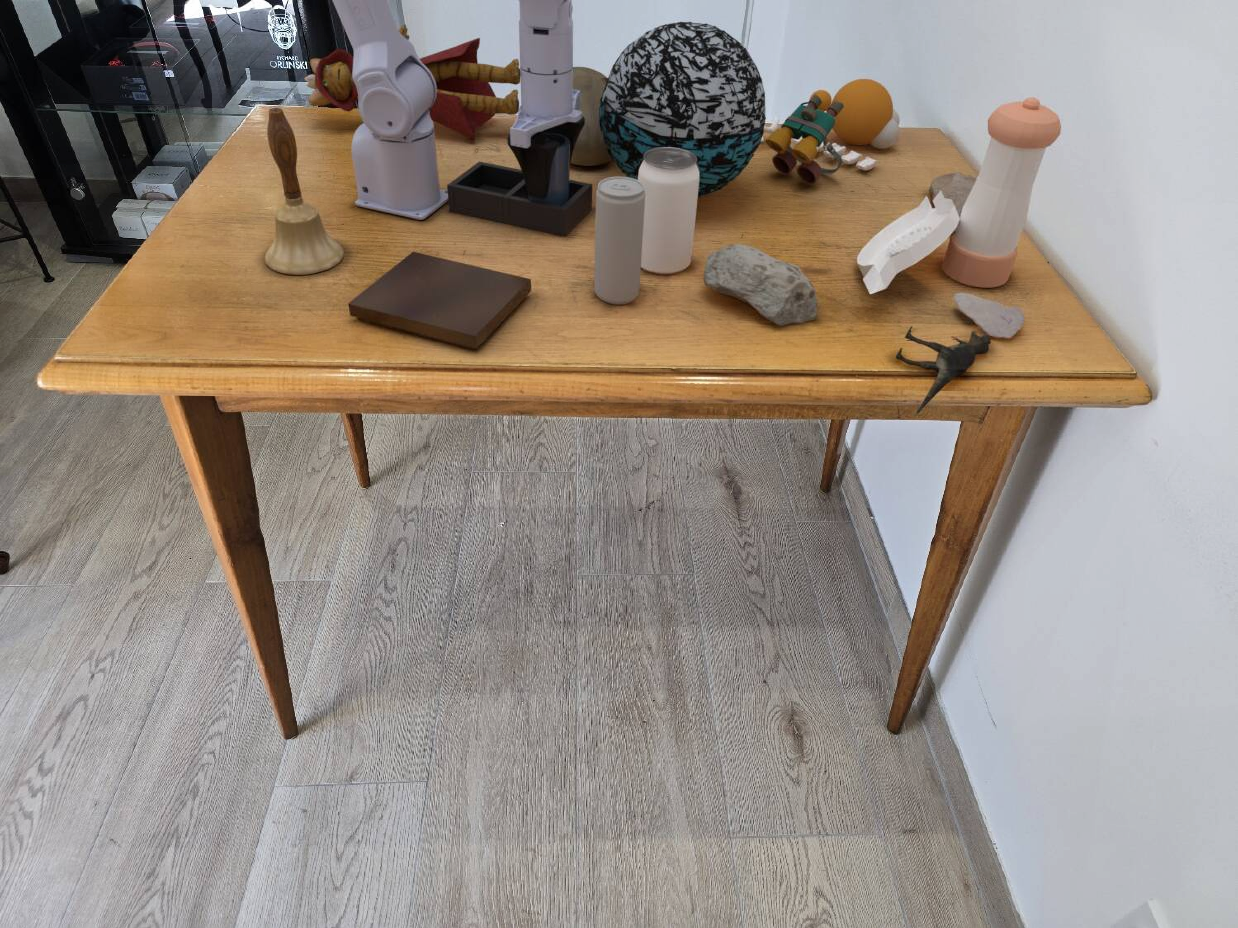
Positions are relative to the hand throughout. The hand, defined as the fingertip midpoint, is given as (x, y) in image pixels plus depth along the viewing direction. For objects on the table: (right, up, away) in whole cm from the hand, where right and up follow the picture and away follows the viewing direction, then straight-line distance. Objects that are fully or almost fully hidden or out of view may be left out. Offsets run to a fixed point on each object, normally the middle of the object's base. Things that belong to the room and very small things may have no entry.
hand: (547, 187), depth 105 cm
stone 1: (+53, -1, +8) cm, 54 cm away
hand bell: (-26, -10, -8) cm, 29 cm away
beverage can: (+8, -15, -11) cm, 20 cm away
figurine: (-5, +19, +20) cm, 28 cm away
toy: (+34, +16, +23) cm, 44 cm away
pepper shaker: (+49, -11, -4) cm, 50 cm away
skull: (+2, +13, +21) cm, 25 cm away
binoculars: (+32, +6, +14) cm, 36 cm away
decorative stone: (+23, -15, -11) cm, 30 cm away
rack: (-4, -2, +3) cm, 5 cm away
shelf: (-9, -17, -15) cm, 24 cm away
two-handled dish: (+41, -9, -7) cm, 43 cm away
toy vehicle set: (+39, +12, +18) cm, 44 cm away
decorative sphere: (+16, +2, +9) cm, 18 cm away
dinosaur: (+35, -21, -20) cm, 46 cm away
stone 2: (+47, -18, -12) cm, 51 cm away
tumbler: (0, -1, +1) cm, 1 cm away
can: (+13, -10, -5) cm, 18 cm away
